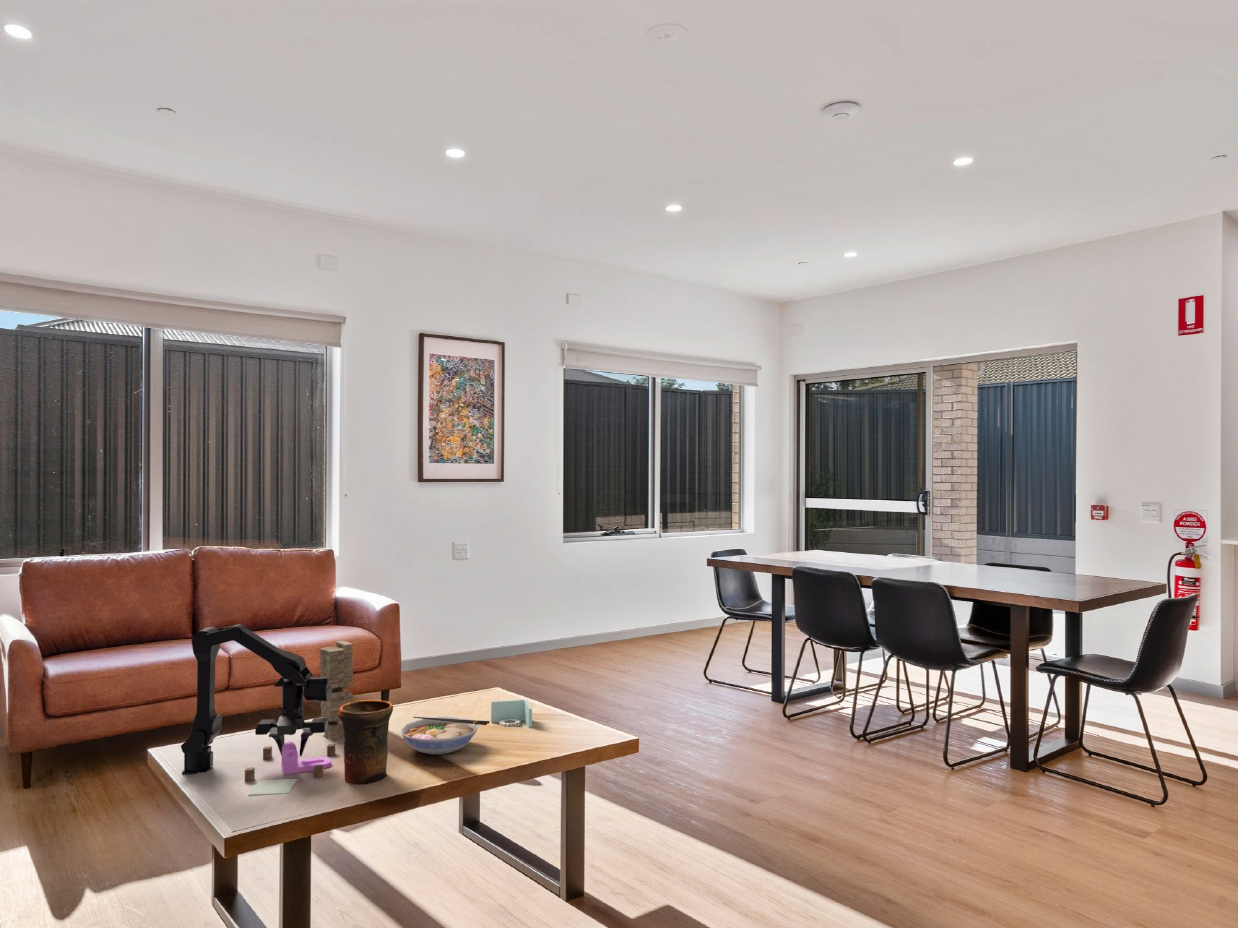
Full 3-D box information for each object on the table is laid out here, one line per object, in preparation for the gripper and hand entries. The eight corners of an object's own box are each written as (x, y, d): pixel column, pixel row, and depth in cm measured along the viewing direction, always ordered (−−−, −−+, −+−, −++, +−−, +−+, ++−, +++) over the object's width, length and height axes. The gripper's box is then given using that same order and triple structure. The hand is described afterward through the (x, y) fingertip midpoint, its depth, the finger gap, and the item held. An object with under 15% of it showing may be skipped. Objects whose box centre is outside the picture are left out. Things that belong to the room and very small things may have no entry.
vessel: (372, 765, 246) (372, 695, 246) (403, 777, 237) (403, 704, 237) (327, 779, 235) (327, 706, 235) (357, 792, 226) (358, 716, 226)
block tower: (318, 735, 274) (318, 643, 274) (344, 730, 280) (344, 639, 280) (328, 741, 268) (328, 647, 268) (354, 735, 274) (354, 643, 274)
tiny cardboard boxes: (244, 781, 234) (244, 770, 234) (264, 756, 254) (264, 746, 254) (321, 777, 237) (321, 766, 237) (335, 753, 256) (335, 743, 256)
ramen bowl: (381, 760, 251) (381, 731, 251) (422, 736, 273) (422, 710, 273) (459, 769, 244) (459, 740, 244) (494, 744, 266) (494, 717, 266)
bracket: (283, 774, 239) (283, 749, 238) (281, 766, 244) (282, 742, 243) (332, 768, 244) (333, 743, 244) (329, 760, 249) (330, 737, 249)
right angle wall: (490, 723, 288) (491, 701, 288) (526, 721, 291) (527, 699, 291) (494, 734, 276) (494, 711, 276) (531, 732, 279) (532, 708, 279)
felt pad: (248, 795, 224) (248, 794, 224) (259, 781, 233) (259, 780, 233) (288, 793, 225) (288, 792, 225) (297, 780, 235) (297, 778, 235)
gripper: (249, 710, 236) (249, 767, 236) (320, 708, 239) (320, 764, 238) (261, 699, 247) (260, 753, 247) (328, 697, 250) (328, 751, 250)
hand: (292, 756), depth 245 cm, fingers open, 4 cm apart
